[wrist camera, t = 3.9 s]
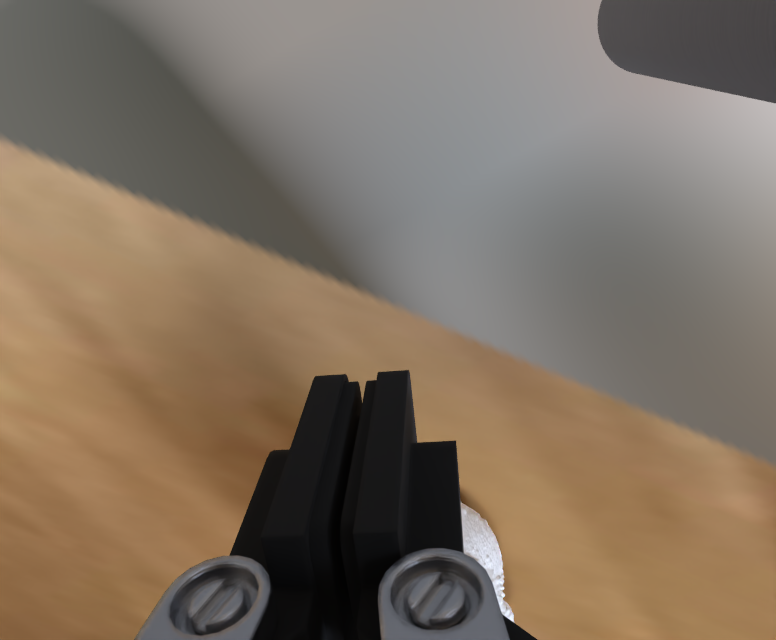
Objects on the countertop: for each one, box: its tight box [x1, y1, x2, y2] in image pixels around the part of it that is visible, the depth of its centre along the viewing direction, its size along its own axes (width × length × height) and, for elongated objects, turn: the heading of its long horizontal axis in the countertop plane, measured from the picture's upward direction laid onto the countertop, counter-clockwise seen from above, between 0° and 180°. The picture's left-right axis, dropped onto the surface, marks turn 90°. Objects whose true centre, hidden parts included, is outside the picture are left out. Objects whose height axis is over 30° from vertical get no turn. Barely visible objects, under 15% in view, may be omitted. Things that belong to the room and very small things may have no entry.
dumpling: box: [460, 501, 514, 622], centre depth 17 cm, size 7×5×4 cm
